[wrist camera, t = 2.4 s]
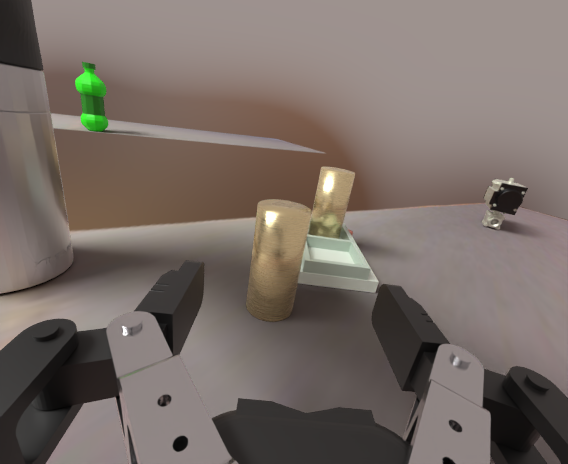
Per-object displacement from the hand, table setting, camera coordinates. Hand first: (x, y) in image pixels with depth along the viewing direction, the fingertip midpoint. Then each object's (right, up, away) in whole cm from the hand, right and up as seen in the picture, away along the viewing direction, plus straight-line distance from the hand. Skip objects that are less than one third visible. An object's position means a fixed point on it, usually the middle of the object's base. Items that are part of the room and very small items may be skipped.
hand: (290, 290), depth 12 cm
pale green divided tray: (+5, -1, +25) cm, 26 cm away
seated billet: (+5, +2, +28) cm, 28 cm away
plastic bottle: (-81, +46, +105) cm, 140 cm away
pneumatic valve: (+50, +4, +55) cm, 75 cm away
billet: (-2, -5, +14) cm, 15 cm away
